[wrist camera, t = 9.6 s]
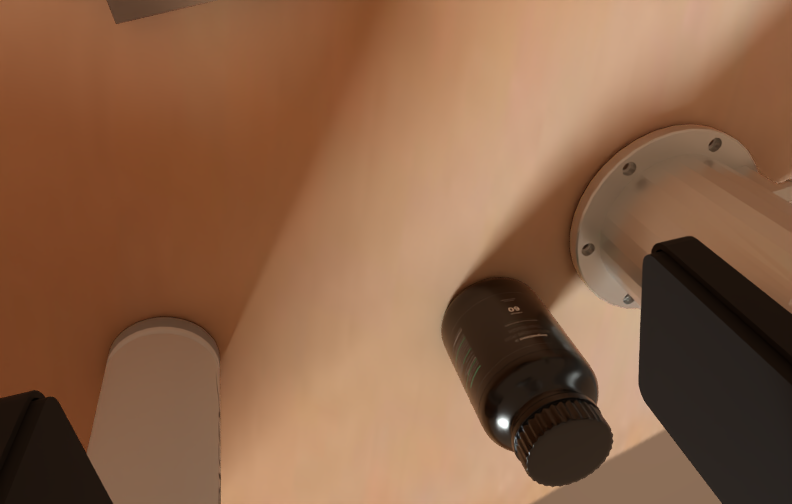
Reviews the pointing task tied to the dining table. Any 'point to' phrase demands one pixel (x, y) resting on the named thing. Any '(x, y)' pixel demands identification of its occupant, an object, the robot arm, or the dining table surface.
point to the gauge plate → (146, 8)
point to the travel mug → (159, 416)
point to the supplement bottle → (527, 381)
